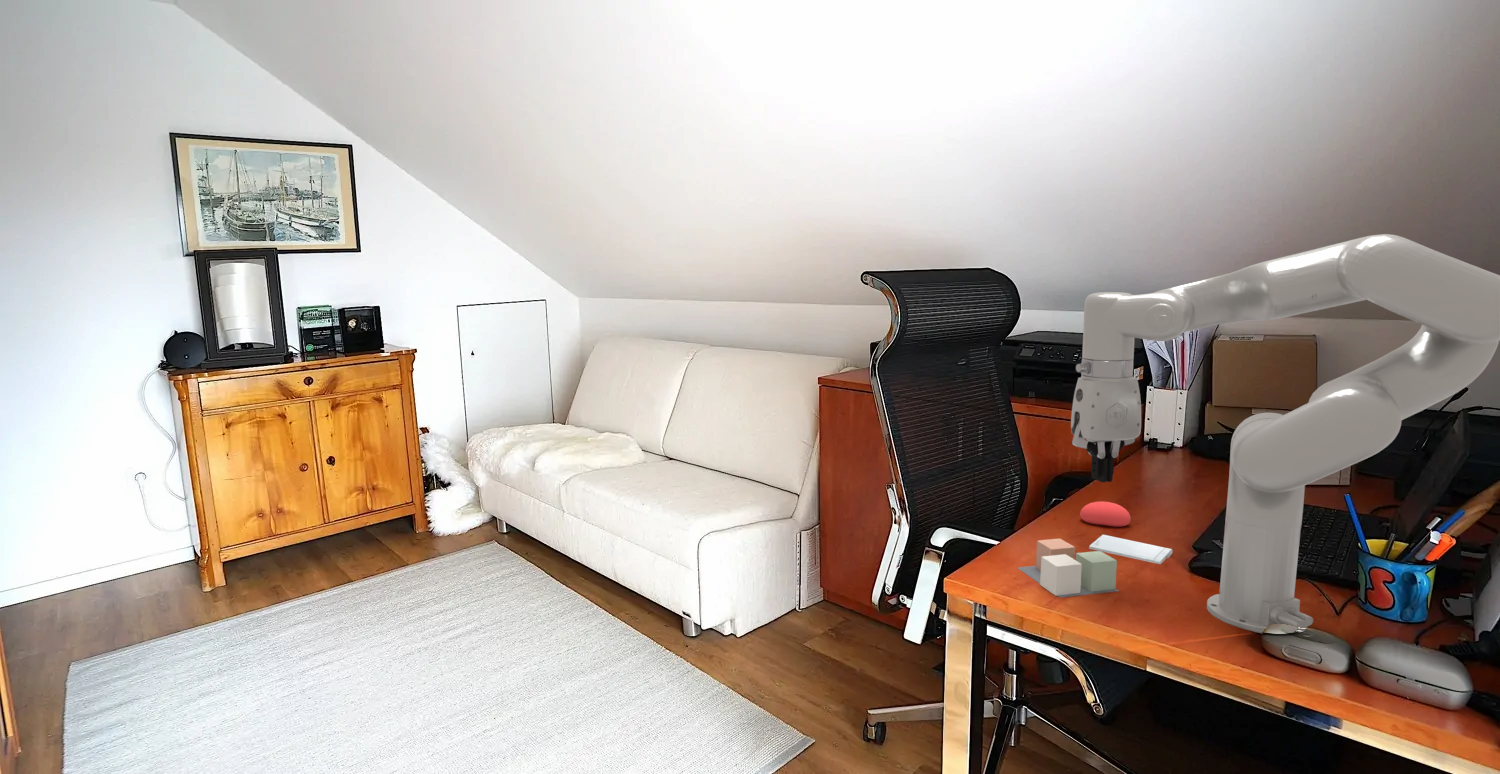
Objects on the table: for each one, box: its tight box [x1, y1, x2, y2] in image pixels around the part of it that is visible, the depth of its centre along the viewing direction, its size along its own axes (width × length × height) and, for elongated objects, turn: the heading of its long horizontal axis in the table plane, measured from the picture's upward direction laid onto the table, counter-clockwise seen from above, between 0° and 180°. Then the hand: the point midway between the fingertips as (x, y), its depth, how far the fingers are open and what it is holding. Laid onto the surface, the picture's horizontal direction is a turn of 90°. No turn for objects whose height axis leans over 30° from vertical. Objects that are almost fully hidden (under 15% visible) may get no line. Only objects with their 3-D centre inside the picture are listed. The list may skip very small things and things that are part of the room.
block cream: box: [1039, 554, 1082, 597], centre depth 131 cm, size 4×4×5 cm
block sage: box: [1075, 550, 1118, 592], centre depth 132 cm, size 4×4×5 cm
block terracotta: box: [1035, 538, 1076, 571], centre depth 138 cm, size 4×4×5 cm
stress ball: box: [1079, 500, 1132, 528], centre depth 163 cm, size 5×9×6 cm, turn 53°
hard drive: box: [1088, 534, 1173, 565], centre depth 148 cm, size 2×8×12 cm
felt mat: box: [1017, 565, 1120, 599], centre depth 135 cm, size 13×11×1 cm
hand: (1101, 479), depth 129 cm, fingers closed
